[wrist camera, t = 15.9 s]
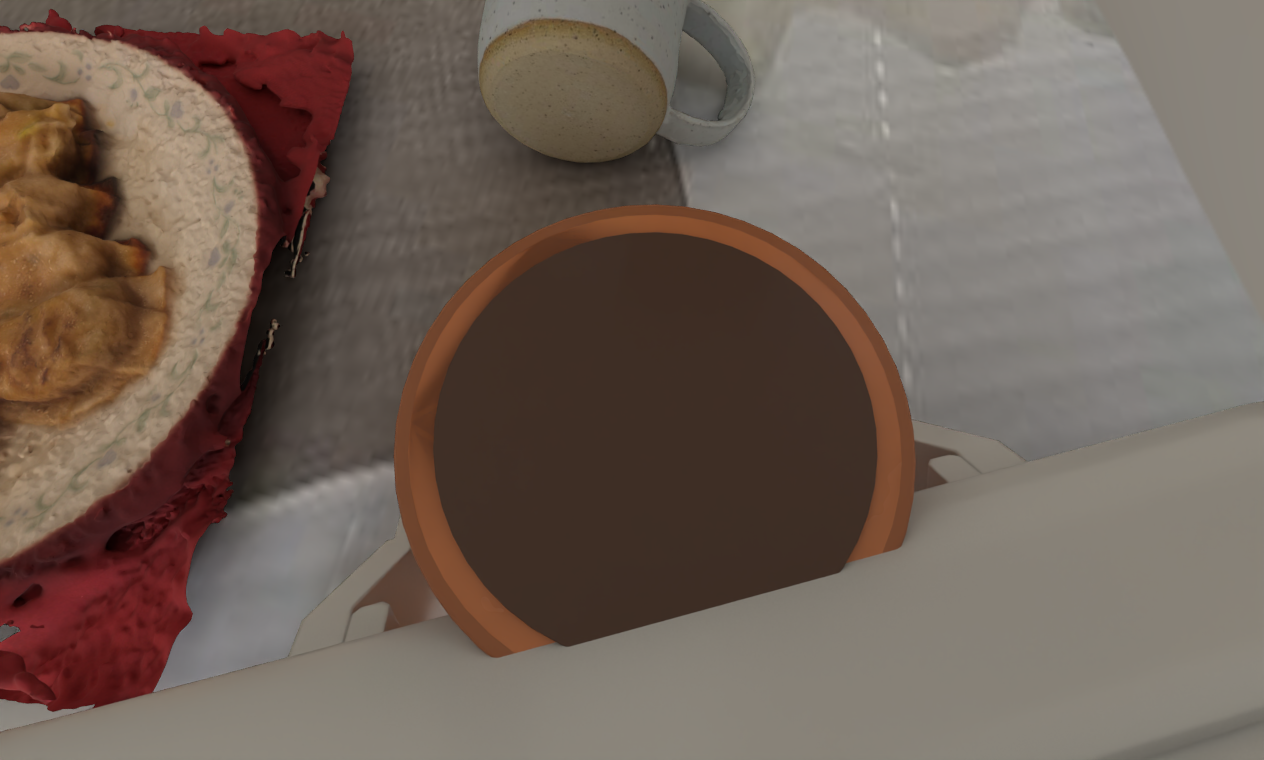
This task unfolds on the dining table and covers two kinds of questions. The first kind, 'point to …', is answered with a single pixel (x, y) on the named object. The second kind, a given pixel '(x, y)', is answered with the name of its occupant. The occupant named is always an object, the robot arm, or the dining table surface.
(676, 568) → the orange lidded canister
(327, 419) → the dining table surface
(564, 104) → the ceramic mug
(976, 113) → the dining table surface
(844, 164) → the dining table surface
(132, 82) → the plate with food
